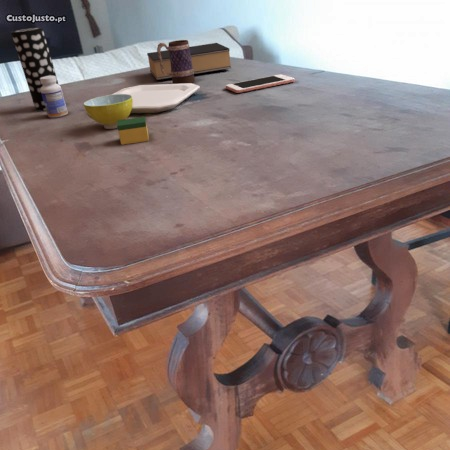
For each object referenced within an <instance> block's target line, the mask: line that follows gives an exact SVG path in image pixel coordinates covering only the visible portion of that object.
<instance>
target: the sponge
mask: <svg viewBox="0 0 450 450" xmlns="http://www.w3.org/2000/svg"><path fill="white" fill-rule="evenodd" d="M147 125H148V124H147V120H146V116H140V117H133V118H126V119H125V120H118V122H117V128H116V129H117V133H118V137H119V141H120V145H121V146H123V145H130V144H136V143H144V142H149V141H150V138H149V130H148V126H147Z"/></svg>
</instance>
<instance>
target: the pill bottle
mask: <svg viewBox="0 0 450 450" xmlns="http://www.w3.org/2000/svg"><path fill="white" fill-rule="evenodd" d="M56 77H57V76H56ZM56 77H55V76H45V77H41V78H40V81H41V84H42V85H43V86H42V87H41V89H40V90H41V94H42V97H43V101H44V104H45V107H46V111H45V112H46V114H47V116H48V118H51V119H54V118H55V119H57V118H62V117H64V116H66V115H68V114H69V111H68V108H67V104H66V100H65V96H64V93H63V89H62V86H61V85H60V84H59V83H58V84H59V85H58V84H56V82H57V81H58V79H57V80H56Z"/></svg>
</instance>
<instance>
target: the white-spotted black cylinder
mask: <svg viewBox="0 0 450 450" xmlns="http://www.w3.org/2000/svg"><path fill="white" fill-rule="evenodd" d="M10 34H11V37H12V40H13V43H14V47H15V50H16V52H17V56H18V59H19V62H20V65H21V68H22V71H23V75H24V77H25V81H26V83H27V86H28V90H29V93H30V96H31V99H32V102H33V105H34V109H35V111H38V112H47V111H46V107H45V104H44V101H43V97H42V94H41V90H40V89H41V87H42V86H43V85H42V84H41V81H40V78H41V77H45V76H55V77H56V80H57V82H56V84H58V85H60V84H59V81H58V77H57V73H56V71H55V67H54V64H53V60H52V57H51V52H50V48H49V46H48V42H47V38H46V35H45V32H44V28H43V27H41V26H40V27H39V26H37V27H29V28H21V29H16V30H12V31H10Z"/></svg>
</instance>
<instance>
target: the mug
mask: <svg viewBox="0 0 450 450" xmlns="http://www.w3.org/2000/svg"><path fill="white" fill-rule="evenodd" d="M163 47H164V48H165V49H166V50H169V54H170V63H171V73H165V72H164V69H163V63H162V57H161V53H160V51H162V50H161V49H162V48H163ZM190 47H191V46H190V43H189V40H188V39H179V40H172V41H169V42H168V45H167V44H166V43H165V42H159V43H158V44H157V49H156V52H158V56H159V61H160V67H161V71H162V73H163V74H164V75H170V76H172V78H171V79H172V84H185V83H192V84H195V81H196V80H195V74H194V70H193V67H192V61H191V55H190V49H189V48H190Z"/></svg>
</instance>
